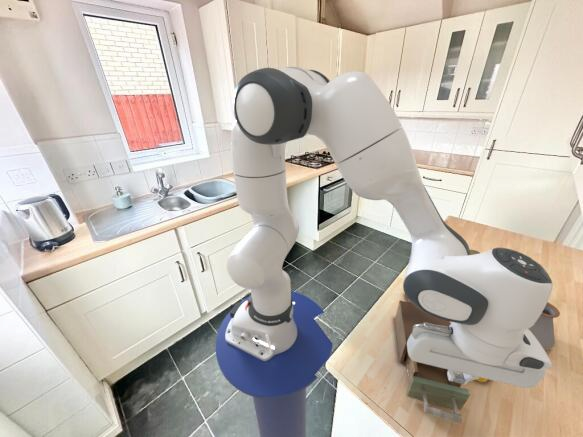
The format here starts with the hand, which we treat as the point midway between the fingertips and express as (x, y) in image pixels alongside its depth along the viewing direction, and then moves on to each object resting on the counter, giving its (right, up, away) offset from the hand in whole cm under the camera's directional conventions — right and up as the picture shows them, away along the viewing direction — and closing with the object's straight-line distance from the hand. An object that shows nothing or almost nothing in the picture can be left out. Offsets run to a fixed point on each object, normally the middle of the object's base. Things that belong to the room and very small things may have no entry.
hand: (455, 379), depth 48 cm
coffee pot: (+33, -5, +22) cm, 40 cm away
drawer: (+2, -10, +13) cm, 16 cm away
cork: (+37, +9, +49) cm, 62 cm away
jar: (+16, -9, +16) cm, 24 cm away
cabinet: (+5, -5, +23) cm, 24 cm away
